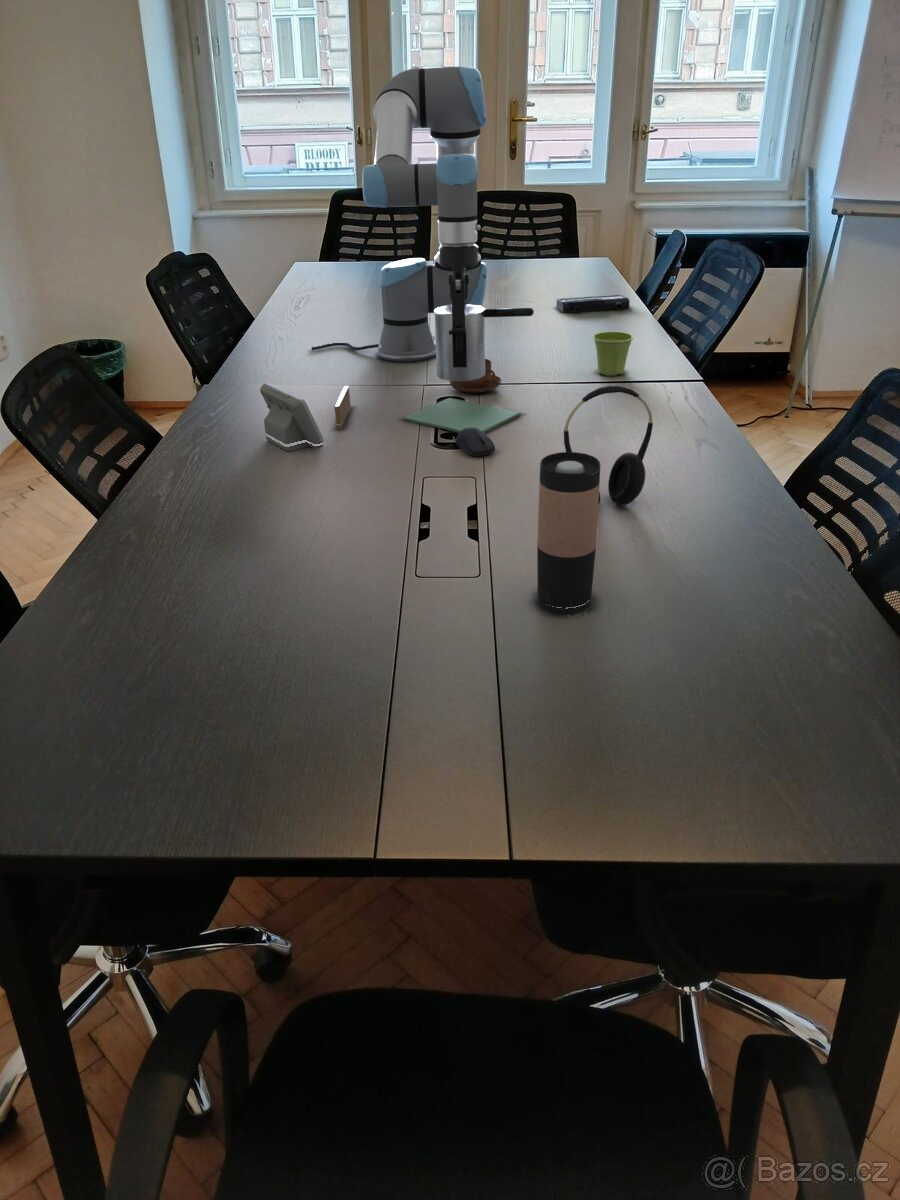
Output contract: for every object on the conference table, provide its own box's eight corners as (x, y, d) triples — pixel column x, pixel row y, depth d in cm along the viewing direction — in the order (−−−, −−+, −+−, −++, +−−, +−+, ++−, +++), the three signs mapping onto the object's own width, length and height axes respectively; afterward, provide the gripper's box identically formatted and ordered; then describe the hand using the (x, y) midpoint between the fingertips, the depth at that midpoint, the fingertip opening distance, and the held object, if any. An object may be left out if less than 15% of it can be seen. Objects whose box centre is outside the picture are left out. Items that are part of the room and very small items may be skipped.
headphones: (655, 510, 144) (667, 389, 134) (568, 520, 142) (574, 398, 132) (636, 490, 151) (645, 374, 141) (553, 499, 149) (557, 382, 139)
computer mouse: (473, 459, 165) (473, 439, 163) (450, 445, 173) (450, 425, 171) (499, 454, 168) (499, 434, 166) (475, 439, 175) (475, 420, 173)
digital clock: (327, 450, 172) (322, 396, 167) (282, 458, 169) (275, 404, 163) (302, 426, 185) (296, 375, 179) (260, 433, 182) (253, 382, 176)
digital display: (565, 303, 266) (556, 297, 274) (564, 314, 267) (555, 308, 276) (632, 298, 268) (621, 293, 277) (631, 309, 270) (620, 303, 279)
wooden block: (336, 429, 182) (334, 406, 180) (346, 408, 195) (344, 385, 192) (341, 429, 182) (339, 406, 180) (350, 408, 194) (348, 385, 192)
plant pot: (630, 378, 208) (632, 341, 203) (589, 377, 209) (591, 340, 205) (631, 367, 215) (633, 331, 211) (592, 366, 217) (594, 331, 213)
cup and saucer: (509, 384, 207) (509, 357, 203) (489, 399, 197) (489, 371, 194) (462, 379, 211) (462, 353, 208) (441, 393, 202) (440, 366, 199)
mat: (403, 419, 186) (403, 417, 186) (449, 400, 197) (449, 397, 197) (476, 436, 176) (476, 433, 176) (520, 414, 187) (520, 412, 187)
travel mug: (531, 589, 123) (534, 453, 112) (585, 585, 123) (593, 449, 113) (541, 617, 116) (545, 476, 106) (598, 613, 116) (608, 472, 106)
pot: (402, 350, 175) (481, 262, 166) (406, 337, 184) (482, 253, 175) (461, 405, 180) (541, 322, 171) (462, 390, 189) (539, 311, 180)
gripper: (476, 252, 159) (478, 374, 171) (478, 235, 179) (479, 345, 190) (435, 253, 160) (439, 375, 171) (441, 236, 179) (445, 346, 191)
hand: (460, 359), depth 181 cm, fingers closed on pot, 10 cm apart
